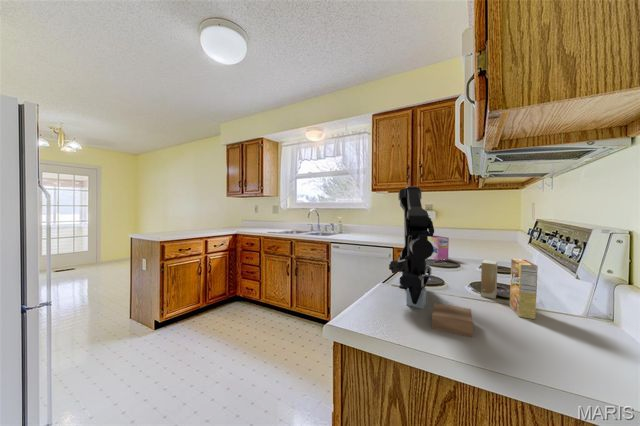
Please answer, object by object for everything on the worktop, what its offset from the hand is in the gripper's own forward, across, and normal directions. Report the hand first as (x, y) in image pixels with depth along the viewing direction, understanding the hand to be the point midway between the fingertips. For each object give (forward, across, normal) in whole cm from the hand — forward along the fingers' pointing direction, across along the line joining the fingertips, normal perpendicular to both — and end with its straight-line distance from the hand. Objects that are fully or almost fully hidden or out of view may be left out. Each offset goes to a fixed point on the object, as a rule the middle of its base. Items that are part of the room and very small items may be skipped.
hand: (416, 301), depth 81 cm
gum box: (+1, -88, -9) cm, 88 cm away
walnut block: (+1, +10, +11) cm, 15 cm away
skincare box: (+1, -23, +20) cm, 31 cm away
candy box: (+1, -11, +28) cm, 30 cm away
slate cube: (+1, 0, 0) cm, 1 cm away
